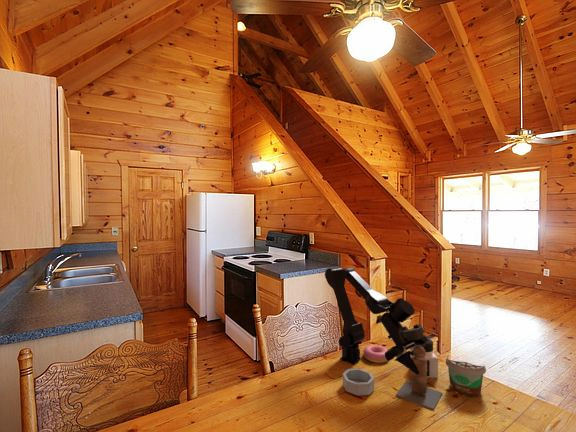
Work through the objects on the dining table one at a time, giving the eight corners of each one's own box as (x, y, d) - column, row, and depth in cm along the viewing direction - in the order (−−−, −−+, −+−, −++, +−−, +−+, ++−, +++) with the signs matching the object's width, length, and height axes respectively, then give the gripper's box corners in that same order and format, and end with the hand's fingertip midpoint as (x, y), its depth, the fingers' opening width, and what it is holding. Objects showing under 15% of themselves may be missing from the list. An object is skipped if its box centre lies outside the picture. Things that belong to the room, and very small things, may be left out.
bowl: (338, 389, 109) (338, 377, 109) (352, 376, 117) (352, 365, 117) (365, 400, 103) (365, 387, 103) (377, 386, 111) (377, 374, 111)
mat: (395, 395, 105) (395, 394, 105) (406, 381, 114) (406, 380, 114) (433, 410, 98) (433, 408, 98) (442, 394, 106) (442, 392, 106)
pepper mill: (410, 392, 104) (411, 347, 104) (411, 385, 109) (412, 342, 108) (426, 396, 102) (426, 350, 102) (426, 388, 107) (427, 344, 106)
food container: (445, 393, 107) (445, 364, 106) (445, 384, 112) (445, 356, 112) (487, 403, 101) (487, 372, 101) (485, 393, 106) (486, 364, 106)
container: (438, 378, 116) (438, 343, 116) (417, 378, 116) (417, 343, 116) (429, 367, 124) (429, 335, 123) (409, 367, 124) (409, 335, 124)
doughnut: (376, 367, 125) (376, 356, 124) (357, 355, 134) (357, 346, 134) (395, 360, 130) (395, 350, 130) (376, 350, 139) (376, 341, 139)
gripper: (392, 323, 103) (423, 370, 94) (423, 312, 114) (454, 353, 105) (373, 338, 109) (400, 384, 101) (404, 326, 120) (431, 366, 112)
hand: (422, 371), depth 104 cm, fingers closed on pepper mill, 5 cm apart
